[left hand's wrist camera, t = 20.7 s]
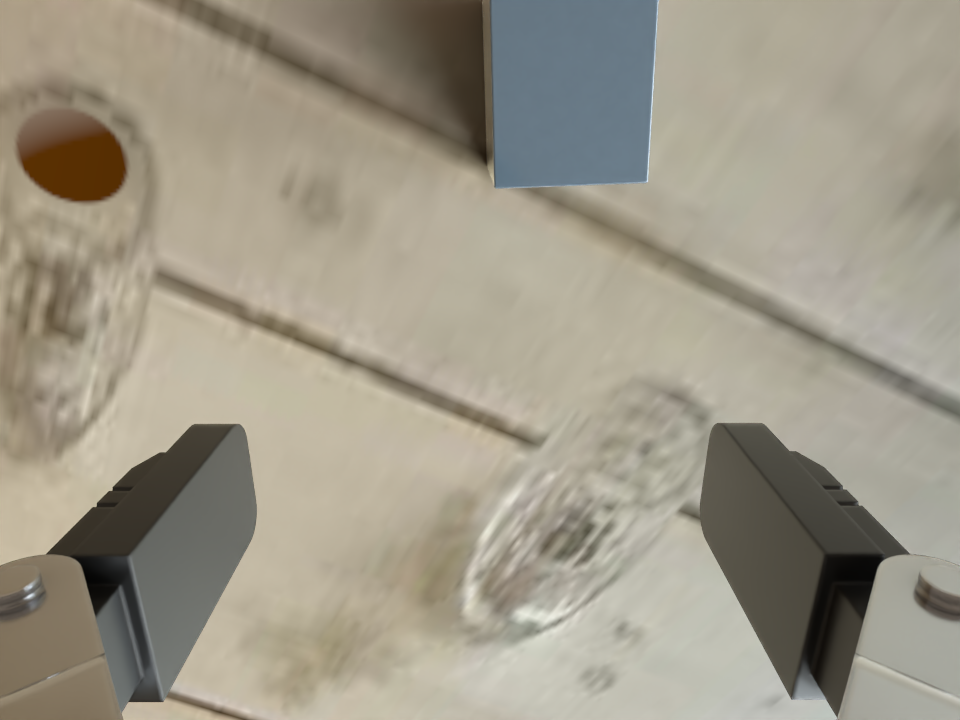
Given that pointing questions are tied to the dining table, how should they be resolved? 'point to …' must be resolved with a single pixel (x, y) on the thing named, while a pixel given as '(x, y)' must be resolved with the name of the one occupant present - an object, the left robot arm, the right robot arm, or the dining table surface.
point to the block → (568, 91)
